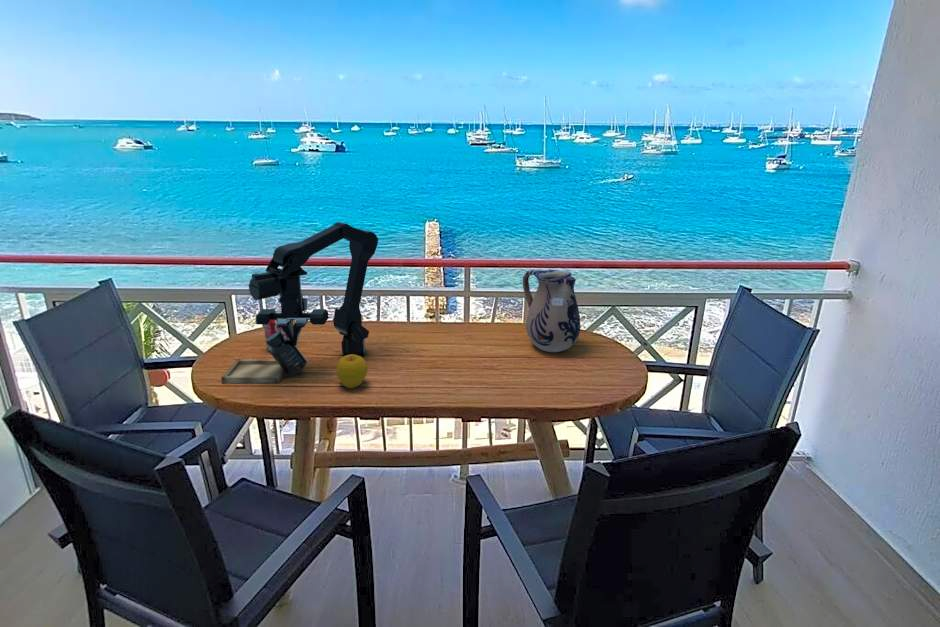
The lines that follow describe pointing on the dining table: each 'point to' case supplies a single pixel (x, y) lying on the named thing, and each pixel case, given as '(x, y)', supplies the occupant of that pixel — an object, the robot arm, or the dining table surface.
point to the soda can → (273, 329)
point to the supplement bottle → (286, 354)
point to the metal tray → (254, 371)
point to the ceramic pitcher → (552, 310)
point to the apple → (351, 370)
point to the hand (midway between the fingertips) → (295, 345)
